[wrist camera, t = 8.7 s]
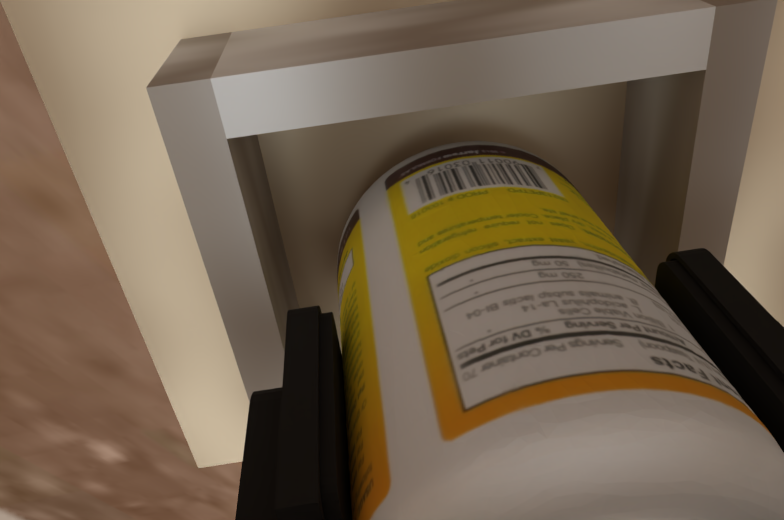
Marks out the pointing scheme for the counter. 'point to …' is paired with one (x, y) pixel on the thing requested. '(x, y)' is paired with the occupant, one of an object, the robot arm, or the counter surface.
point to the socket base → (387, 146)
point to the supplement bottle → (526, 360)
